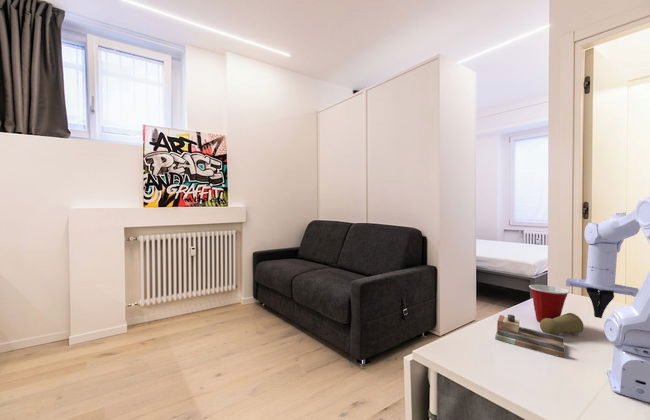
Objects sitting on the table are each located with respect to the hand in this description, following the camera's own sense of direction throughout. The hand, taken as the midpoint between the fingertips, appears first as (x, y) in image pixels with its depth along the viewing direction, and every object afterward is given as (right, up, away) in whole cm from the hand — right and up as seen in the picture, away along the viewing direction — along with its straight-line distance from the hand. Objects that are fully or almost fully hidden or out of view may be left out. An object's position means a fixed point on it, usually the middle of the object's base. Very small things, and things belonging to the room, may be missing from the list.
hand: (597, 316), depth 81 cm
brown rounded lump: (+3, -6, +12) cm, 14 cm away
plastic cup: (0, -9, +19) cm, 21 cm away
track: (-15, -9, +6) cm, 19 cm away
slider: (-19, -8, +8) cm, 22 cm away
